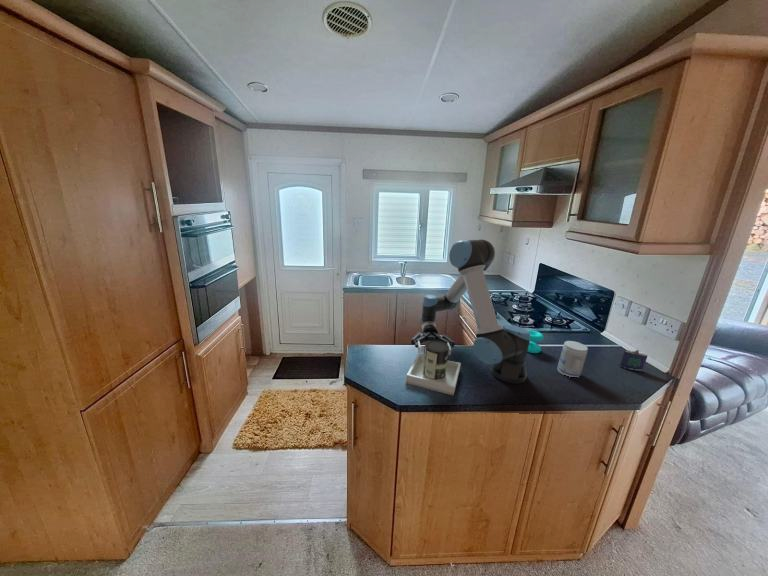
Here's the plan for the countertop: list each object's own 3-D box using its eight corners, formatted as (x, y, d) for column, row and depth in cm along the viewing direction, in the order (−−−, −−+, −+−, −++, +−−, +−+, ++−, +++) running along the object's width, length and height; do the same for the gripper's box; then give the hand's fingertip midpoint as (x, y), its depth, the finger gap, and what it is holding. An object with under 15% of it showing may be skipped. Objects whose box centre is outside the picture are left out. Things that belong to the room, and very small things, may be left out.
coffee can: (445, 370, 133) (449, 342, 129) (445, 383, 124) (449, 353, 120) (423, 366, 135) (425, 339, 131) (421, 379, 126) (424, 349, 121)
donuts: (548, 336, 153) (532, 337, 151) (544, 353, 156) (528, 354, 154) (534, 328, 162) (519, 329, 160) (531, 344, 165) (516, 346, 163)
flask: (641, 370, 144) (647, 350, 141) (643, 373, 142) (650, 353, 139) (618, 365, 148) (624, 346, 144) (620, 368, 145) (626, 349, 142)
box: (459, 370, 135) (460, 363, 134) (453, 395, 117) (454, 387, 116) (417, 360, 142) (418, 353, 141) (405, 383, 124) (406, 374, 123)
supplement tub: (552, 367, 143) (559, 339, 139) (572, 368, 143) (579, 340, 139) (564, 378, 134) (571, 349, 129) (585, 379, 134) (593, 350, 129)
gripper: (453, 339, 151) (461, 360, 131) (405, 336, 152) (406, 356, 132) (454, 325, 149) (463, 345, 129) (406, 322, 150) (407, 341, 129)
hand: (434, 351), depth 130 cm, fingers open, 13 cm apart
